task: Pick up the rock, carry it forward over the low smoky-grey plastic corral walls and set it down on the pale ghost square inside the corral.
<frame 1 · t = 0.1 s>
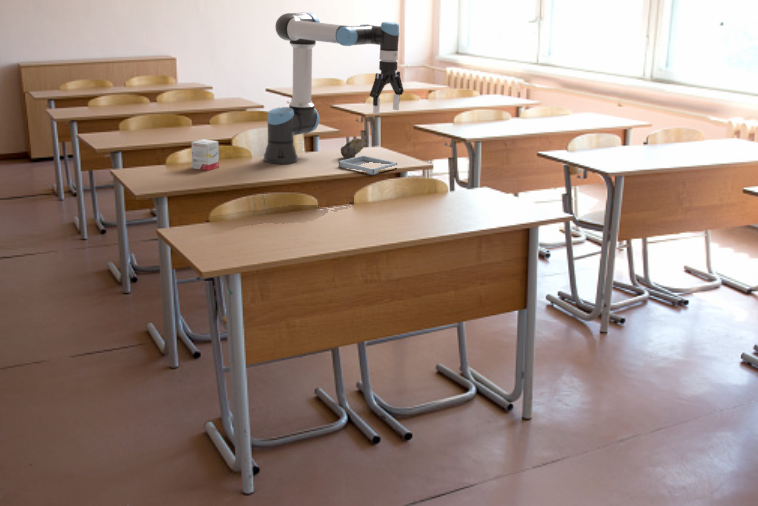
hand: (386, 111, 355), 28 cm above the table, fingers open, 13 cm apart
rock: (351, 158, 393), on the table
ink box: (205, 168, 364), on the table
corral: (367, 168, 376), on the table
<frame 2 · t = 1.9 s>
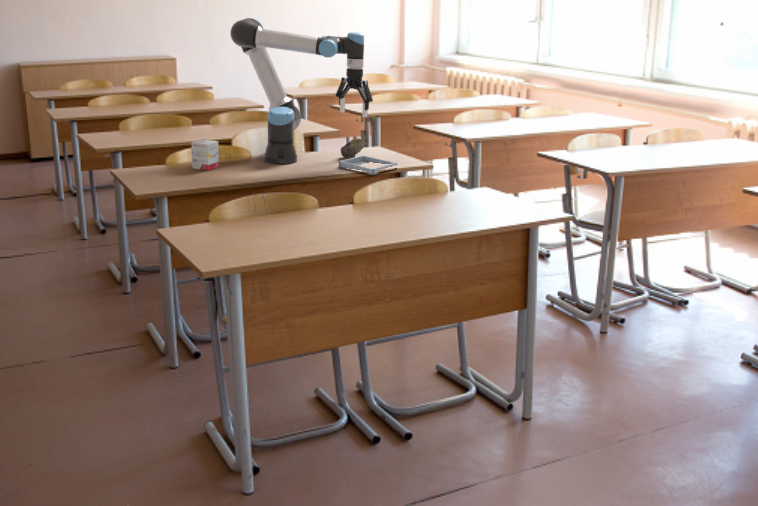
hand: (353, 114, 386), 20 cm above the table, fingers open, 13 cm apart
nothing on the table moved.
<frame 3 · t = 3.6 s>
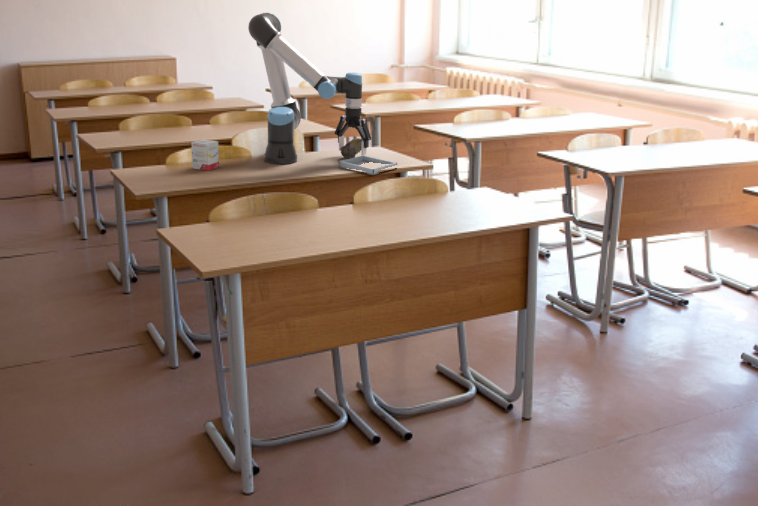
hand: (352, 152, 392), 3 cm above the table, fingers open, 13 cm apart
nothing on the table moved.
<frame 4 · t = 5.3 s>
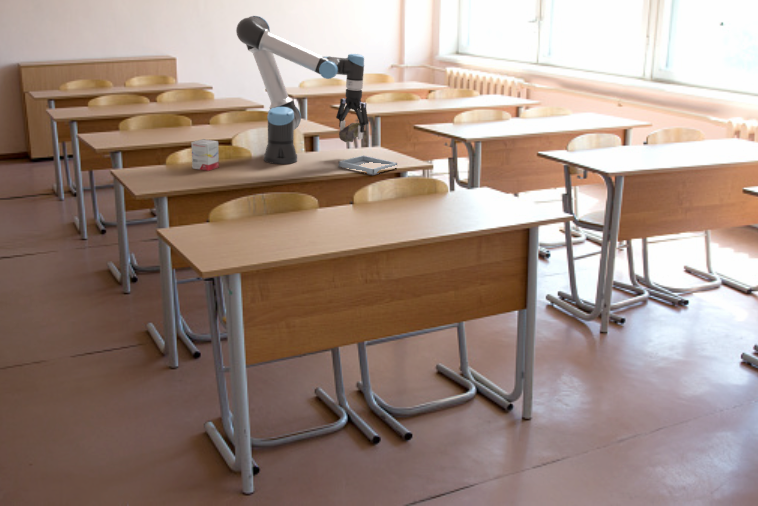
hand: (351, 136, 390), 10 cm above the table, fingers closed on rock, 10 cm apart
rock: (349, 142, 391), point 7 cm above the table, touching gripper
everything else where it was.
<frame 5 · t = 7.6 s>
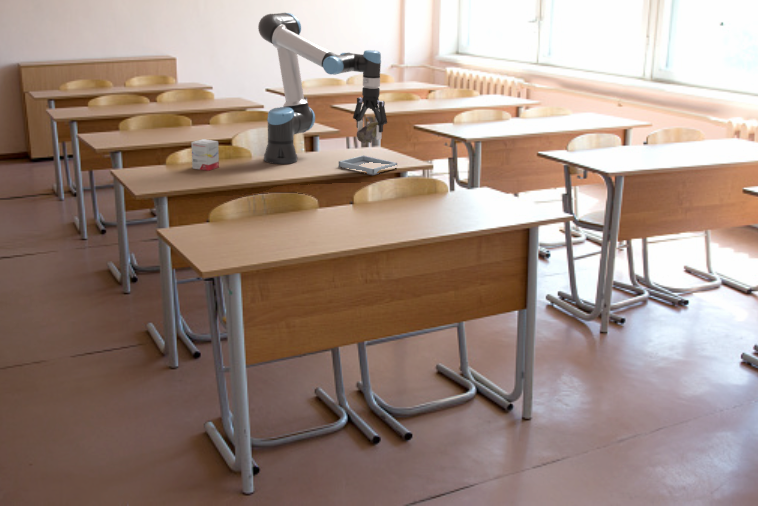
hand: (369, 137, 372), 14 cm above the table, fingers closed on rock, 10 cm apart
rock: (368, 143, 373), point 11 cm above the table, touching gripper
everything else where it was.
when the fingers open (4 cm above the table, at t = 9.9 s): rock stays where it is, resting on corral.
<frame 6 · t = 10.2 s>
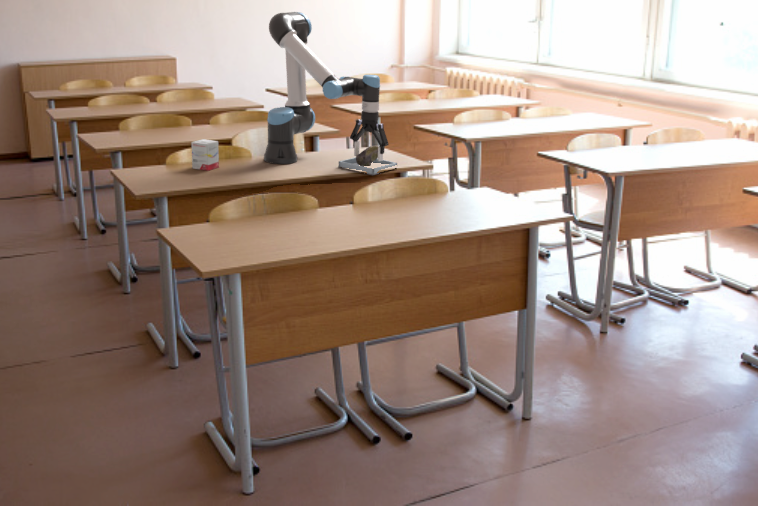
hand: (368, 158, 375), 4 cm above the table, fingers open, 13 cm apart
rock: (367, 167, 376), resting on corral
everything else where it was.
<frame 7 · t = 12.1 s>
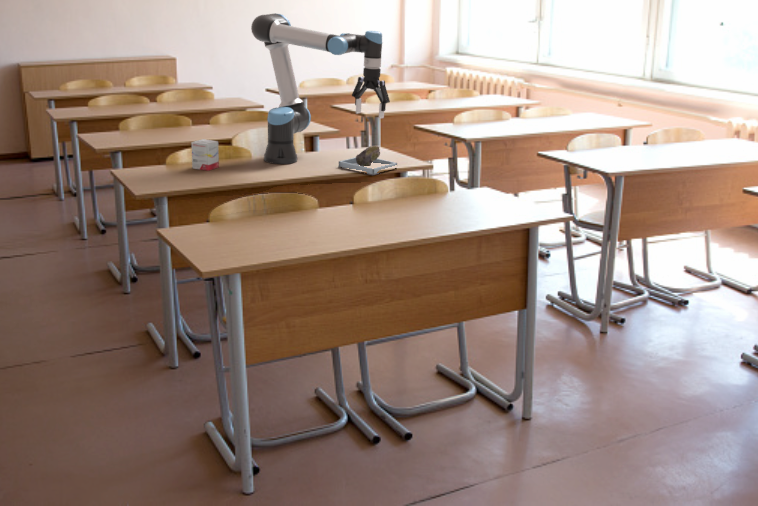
hand: (369, 115, 374), 23 cm above the table, fingers open, 13 cm apart
nothing on the table moved.
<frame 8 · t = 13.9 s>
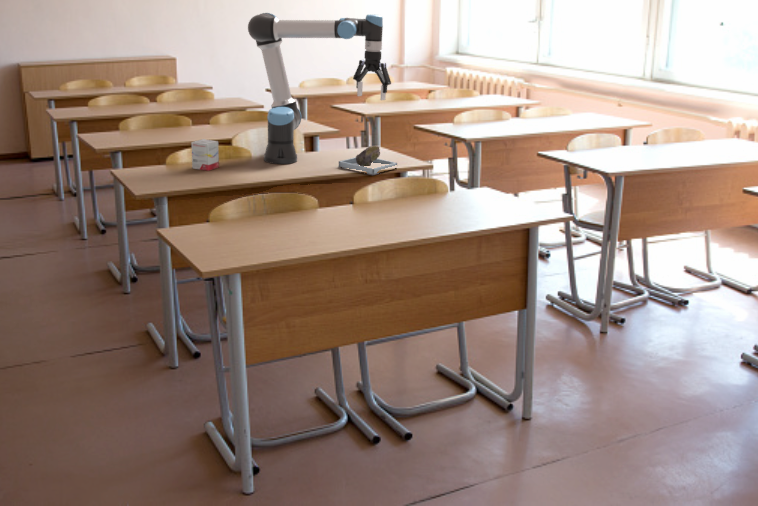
hand: (371, 98, 382), 29 cm above the table, fingers open, 13 cm apart
nothing on the table moved.
at the end: rock inside the target area on the corral (0.3 cm from its centre), point 0.4 cm above the corral's base; the gripper is holding nothing; rock moved 19.0 cm from its start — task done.
